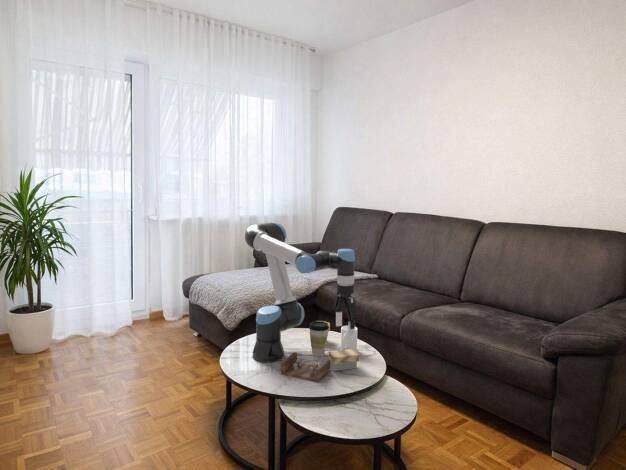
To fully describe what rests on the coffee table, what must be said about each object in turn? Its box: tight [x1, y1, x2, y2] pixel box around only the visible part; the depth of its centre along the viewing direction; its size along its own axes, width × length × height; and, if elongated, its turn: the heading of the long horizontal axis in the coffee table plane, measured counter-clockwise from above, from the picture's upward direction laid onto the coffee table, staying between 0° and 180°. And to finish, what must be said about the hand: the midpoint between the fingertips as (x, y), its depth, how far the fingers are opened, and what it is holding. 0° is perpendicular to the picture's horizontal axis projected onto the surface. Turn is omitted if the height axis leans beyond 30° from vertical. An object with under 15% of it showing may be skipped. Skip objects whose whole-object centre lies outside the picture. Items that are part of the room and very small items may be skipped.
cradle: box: [280, 351, 331, 383], centre depth 186 cm, size 18×12×6 cm, turn 65°
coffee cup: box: [308, 320, 329, 357], centre depth 207 cm, size 10×10×15 cm
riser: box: [330, 360, 358, 372], centre depth 191 cm, size 12×3×4 cm, turn 110°
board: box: [327, 349, 360, 364], centre depth 191 cm, size 12×7×3 cm, turn 110°
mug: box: [339, 325, 358, 353], centre depth 209 cm, size 12×8×12 cm
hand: (344, 330), depth 189 cm, fingers open, 13 cm apart
